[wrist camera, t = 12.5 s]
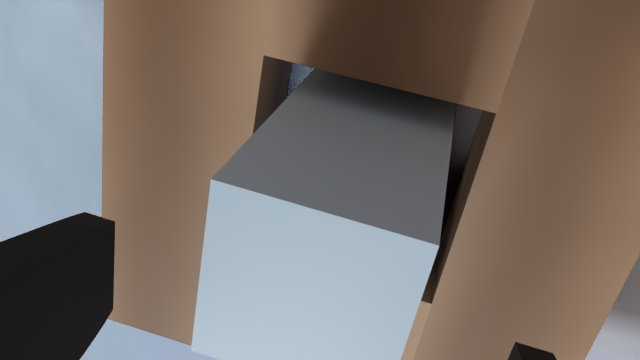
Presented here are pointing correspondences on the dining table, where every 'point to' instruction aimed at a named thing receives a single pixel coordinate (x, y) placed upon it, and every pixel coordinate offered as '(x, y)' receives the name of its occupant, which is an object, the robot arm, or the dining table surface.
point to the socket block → (413, 76)
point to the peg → (325, 226)
